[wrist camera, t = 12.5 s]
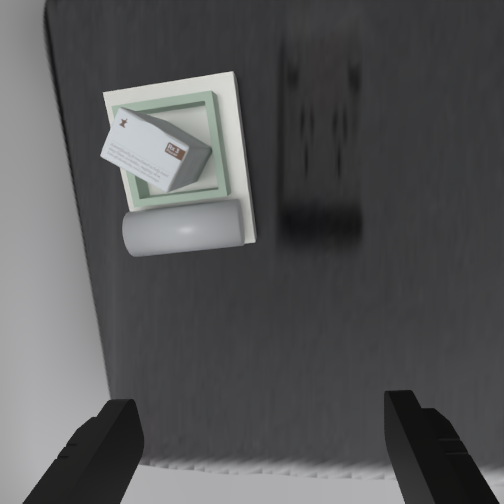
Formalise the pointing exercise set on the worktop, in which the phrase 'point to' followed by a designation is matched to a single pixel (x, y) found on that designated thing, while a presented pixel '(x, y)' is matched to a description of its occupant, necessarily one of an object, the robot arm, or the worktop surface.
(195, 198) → the green piece
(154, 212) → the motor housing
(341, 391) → the worktop surface
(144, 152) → the skincare box
